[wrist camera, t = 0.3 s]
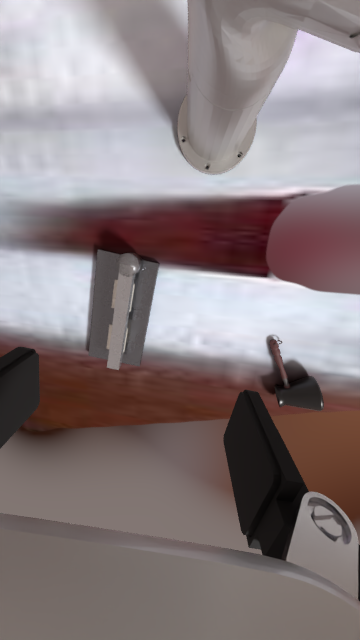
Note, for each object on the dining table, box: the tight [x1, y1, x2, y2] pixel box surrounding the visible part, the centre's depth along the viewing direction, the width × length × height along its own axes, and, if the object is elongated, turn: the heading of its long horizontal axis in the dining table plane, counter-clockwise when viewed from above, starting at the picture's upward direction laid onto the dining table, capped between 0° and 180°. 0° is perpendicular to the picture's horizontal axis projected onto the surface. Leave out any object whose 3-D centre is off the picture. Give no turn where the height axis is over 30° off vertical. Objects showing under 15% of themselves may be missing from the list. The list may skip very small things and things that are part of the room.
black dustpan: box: [270, 340, 324, 411], centre depth 48 cm, size 8×18×8 cm
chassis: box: [89, 249, 159, 366], centre depth 45 cm, size 24×12×1 cm, turn 167°
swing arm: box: [107, 252, 143, 370], centre depth 42 cm, size 24×4×4 cm, turn 167°
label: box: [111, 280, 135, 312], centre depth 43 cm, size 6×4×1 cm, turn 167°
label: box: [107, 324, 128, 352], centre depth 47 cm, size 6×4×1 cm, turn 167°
